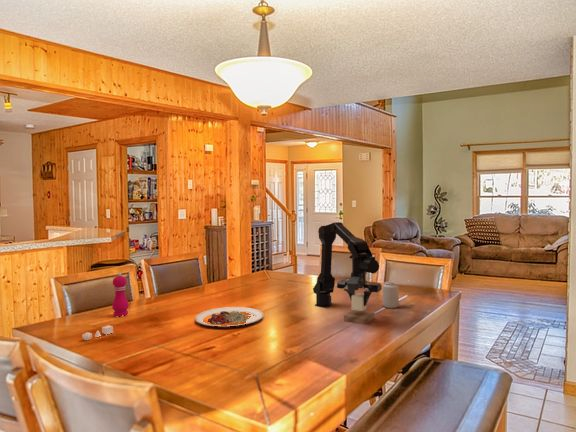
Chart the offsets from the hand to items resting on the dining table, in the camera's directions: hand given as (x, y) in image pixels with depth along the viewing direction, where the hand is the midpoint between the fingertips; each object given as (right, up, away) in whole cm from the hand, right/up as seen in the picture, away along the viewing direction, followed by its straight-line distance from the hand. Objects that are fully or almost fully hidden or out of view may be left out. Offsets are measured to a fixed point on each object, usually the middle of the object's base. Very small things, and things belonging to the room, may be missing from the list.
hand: (359, 305), depth 196 cm
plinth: (0, -7, 0) cm, 7 cm away
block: (0, -2, 0) cm, 2 cm away
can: (+18, -5, +21) cm, 28 cm away
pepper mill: (-109, -8, +14) cm, 110 cm away
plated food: (-57, -8, +5) cm, 58 cm away
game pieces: (-106, -10, -17) cm, 108 cm away
